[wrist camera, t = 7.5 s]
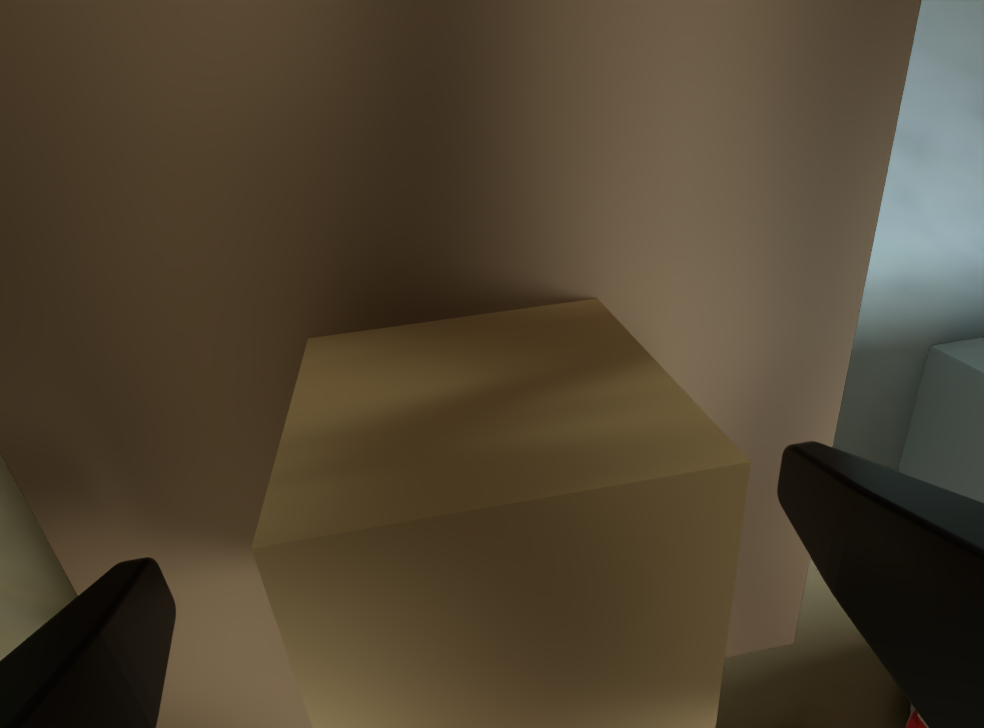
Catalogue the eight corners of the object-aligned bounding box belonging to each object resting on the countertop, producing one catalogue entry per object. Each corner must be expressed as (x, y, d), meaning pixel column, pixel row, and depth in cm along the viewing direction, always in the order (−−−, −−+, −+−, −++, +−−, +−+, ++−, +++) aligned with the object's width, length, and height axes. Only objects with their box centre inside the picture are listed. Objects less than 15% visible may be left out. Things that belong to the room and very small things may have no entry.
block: (597, 298, 10) (750, 462, 6) (598, 519, 12) (711, 754, 8) (308, 338, 9) (251, 549, 5) (361, 561, 11) (349, 837, 7)
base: (836, -54, 10) (938, -81, 8) (747, 580, 16) (793, 643, 14) (-108, 24, 8) (-242, 12, 7) (200, 689, 15) (176, 775, 13)
